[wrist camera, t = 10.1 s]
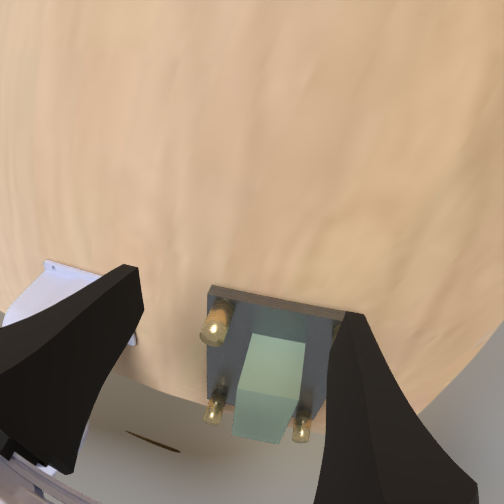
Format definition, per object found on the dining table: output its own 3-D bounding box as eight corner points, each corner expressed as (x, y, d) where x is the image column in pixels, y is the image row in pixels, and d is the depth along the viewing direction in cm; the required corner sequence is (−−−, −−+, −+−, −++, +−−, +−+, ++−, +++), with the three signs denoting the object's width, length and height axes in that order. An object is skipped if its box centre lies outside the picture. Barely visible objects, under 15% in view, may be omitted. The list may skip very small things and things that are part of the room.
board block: (244, 389, 28) (231, 435, 23) (252, 333, 23) (237, 387, 19) (286, 397, 27) (278, 444, 23) (305, 343, 23) (298, 399, 19)
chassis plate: (210, 391, 31) (199, 422, 27) (211, 284, 23) (193, 323, 19) (313, 412, 30) (310, 445, 26) (362, 314, 22) (365, 357, 18)
